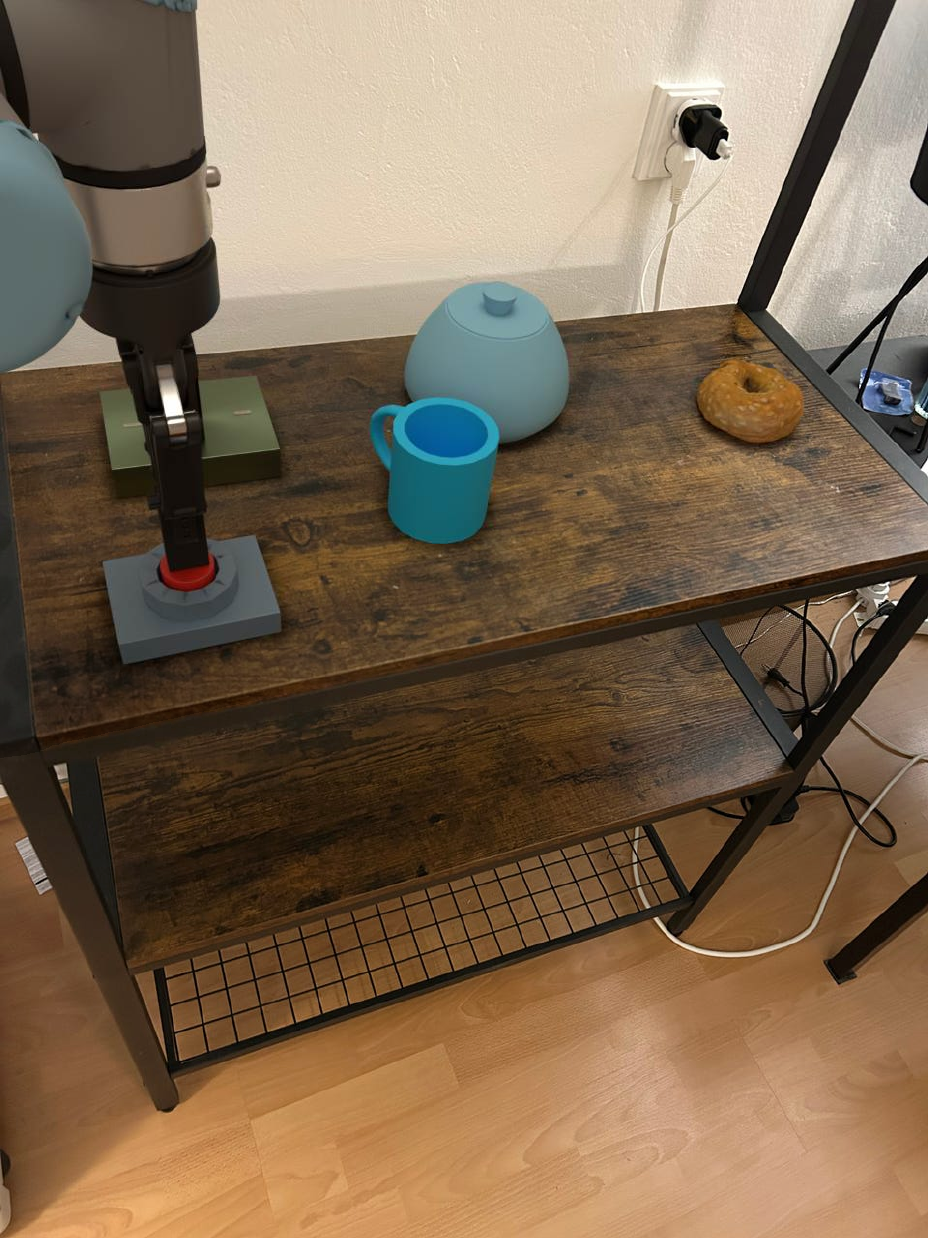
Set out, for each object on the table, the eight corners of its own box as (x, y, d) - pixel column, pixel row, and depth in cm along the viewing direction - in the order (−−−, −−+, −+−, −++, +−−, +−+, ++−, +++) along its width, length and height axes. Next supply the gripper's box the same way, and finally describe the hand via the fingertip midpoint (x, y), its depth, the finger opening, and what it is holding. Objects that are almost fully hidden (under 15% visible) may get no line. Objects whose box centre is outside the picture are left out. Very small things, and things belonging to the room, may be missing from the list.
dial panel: (118, 499, 77) (111, 468, 74) (105, 419, 83) (98, 388, 80) (281, 477, 80) (280, 447, 78) (257, 402, 86) (256, 372, 84)
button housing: (123, 664, 66) (113, 627, 63) (107, 581, 71) (97, 543, 68) (281, 632, 70) (279, 595, 67) (256, 554, 74) (253, 516, 71)
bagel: (803, 400, 96) (821, 359, 93) (785, 464, 89) (805, 422, 86) (706, 369, 98) (721, 328, 94) (682, 430, 91) (697, 388, 87)
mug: (506, 512, 81) (521, 434, 75) (438, 559, 76) (448, 480, 70) (404, 440, 85) (410, 362, 79) (335, 481, 81) (335, 401, 75)
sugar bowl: (591, 397, 92) (619, 287, 84) (508, 477, 84) (530, 363, 75) (461, 335, 97) (475, 225, 88) (370, 404, 88) (375, 289, 79)
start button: (168, 604, 67) (164, 586, 65) (159, 567, 69) (156, 550, 67) (220, 593, 68) (218, 577, 66) (210, 558, 70) (208, 540, 69)
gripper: (241, 300, 46) (263, 619, 64) (190, 173, 54) (223, 490, 72) (76, 316, 44) (147, 642, 62) (47, 181, 52) (117, 506, 69)
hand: (187, 560), depth 67 cm, fingers closed
